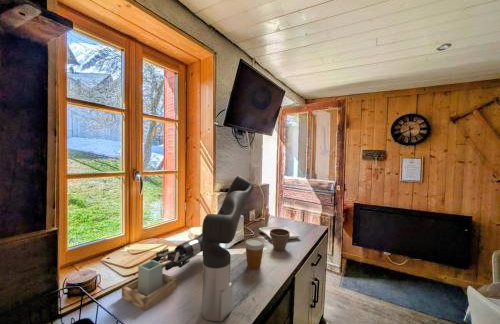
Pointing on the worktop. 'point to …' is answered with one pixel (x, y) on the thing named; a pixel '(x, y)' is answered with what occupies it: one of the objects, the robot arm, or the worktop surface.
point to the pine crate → (146, 302)
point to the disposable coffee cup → (254, 253)
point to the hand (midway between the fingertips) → (158, 265)
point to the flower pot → (279, 238)
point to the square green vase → (149, 277)
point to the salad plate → (267, 229)
